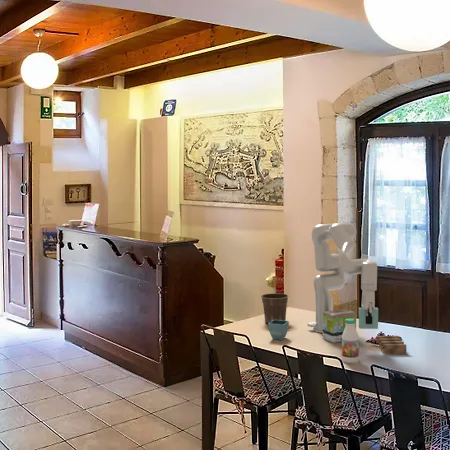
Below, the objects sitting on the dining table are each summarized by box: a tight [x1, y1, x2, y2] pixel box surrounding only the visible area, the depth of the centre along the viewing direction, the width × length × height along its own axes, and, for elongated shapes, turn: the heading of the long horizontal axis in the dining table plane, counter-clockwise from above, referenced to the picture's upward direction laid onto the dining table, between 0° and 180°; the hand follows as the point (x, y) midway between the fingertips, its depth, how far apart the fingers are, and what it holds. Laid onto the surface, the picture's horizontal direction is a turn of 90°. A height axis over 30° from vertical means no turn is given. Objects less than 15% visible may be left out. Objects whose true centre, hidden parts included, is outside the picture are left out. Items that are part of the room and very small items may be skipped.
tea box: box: [322, 308, 357, 344], centre depth 324 cm, size 15×10×15 cm
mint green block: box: [358, 306, 379, 330], centre depth 303 cm, size 9×3×10 cm, turn 87°
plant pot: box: [260, 292, 289, 324], centre depth 362 cm, size 16×16×16 cm
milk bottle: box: [341, 318, 360, 364], centre depth 286 cm, size 8×8×20 cm
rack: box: [376, 335, 407, 355], centre depth 304 cm, size 11×16×4 cm
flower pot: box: [267, 320, 290, 341], centre depth 328 cm, size 9×9×9 cm
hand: (368, 322), depth 303 cm, fingers closed on mint green block, 3 cm apart
